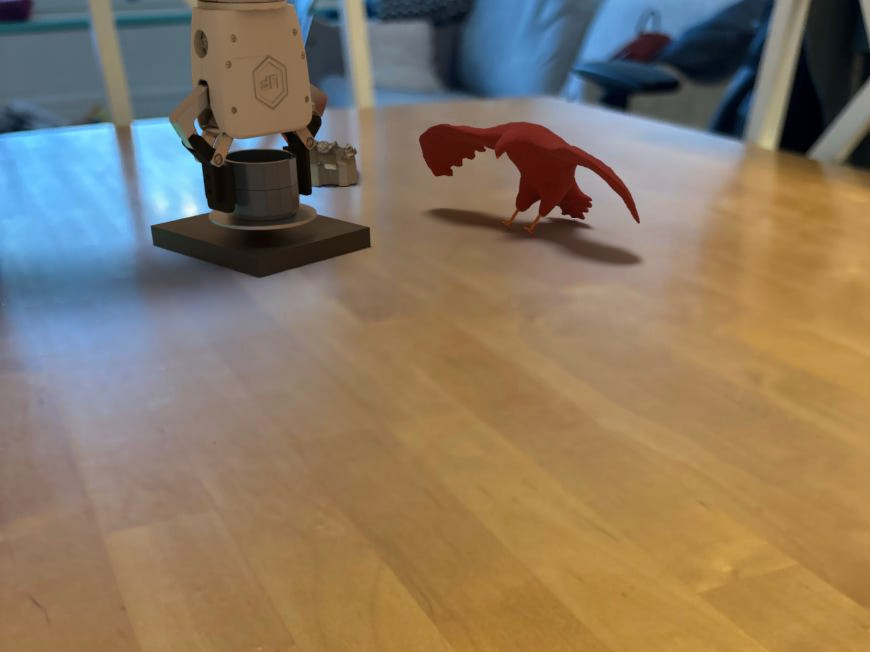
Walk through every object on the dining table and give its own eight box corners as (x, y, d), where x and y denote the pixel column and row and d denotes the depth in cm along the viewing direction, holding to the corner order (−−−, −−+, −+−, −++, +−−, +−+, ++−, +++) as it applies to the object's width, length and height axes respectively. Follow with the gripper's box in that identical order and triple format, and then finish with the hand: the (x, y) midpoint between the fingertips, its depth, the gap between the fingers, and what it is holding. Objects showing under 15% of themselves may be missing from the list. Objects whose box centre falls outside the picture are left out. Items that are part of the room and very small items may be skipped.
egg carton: (358, 187, 130) (356, 150, 127) (293, 188, 129) (290, 150, 127) (358, 167, 138) (357, 131, 136) (297, 167, 138) (295, 132, 136)
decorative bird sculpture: (451, 243, 126) (379, 151, 114) (494, 175, 126) (427, 76, 114) (650, 299, 109) (591, 199, 97) (699, 221, 110) (646, 112, 98)
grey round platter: (186, 216, 104) (186, 213, 103) (269, 198, 110) (269, 195, 110) (256, 236, 98) (256, 232, 98) (339, 215, 105) (338, 212, 104)
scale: (149, 244, 109) (144, 207, 107) (261, 218, 117) (257, 183, 115) (259, 278, 100) (255, 238, 98) (371, 247, 109) (369, 209, 107)
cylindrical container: (212, 213, 104) (205, 156, 101) (268, 200, 108) (263, 145, 105) (259, 226, 100) (253, 167, 97) (315, 212, 104) (311, 155, 101)
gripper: (183, -5, 86) (211, 226, 96) (346, -16, 97) (356, 192, 107) (126, -11, 90) (159, 211, 100) (289, -21, 101) (304, 180, 111)
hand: (261, 201), depth 103 cm, fingers open, 8 cm apart
